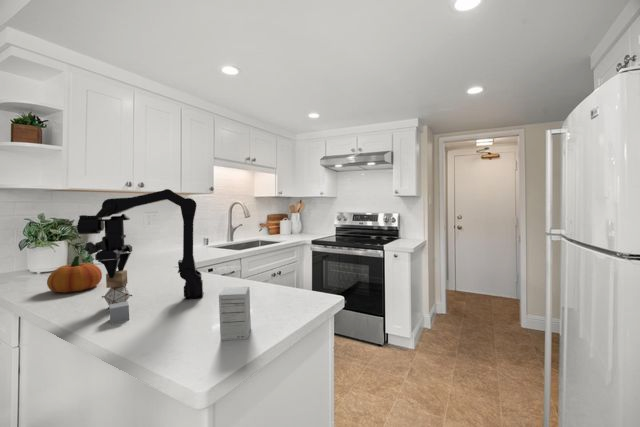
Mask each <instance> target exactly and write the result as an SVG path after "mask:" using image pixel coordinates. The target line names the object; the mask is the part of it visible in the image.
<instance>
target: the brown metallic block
mask: <svg viewBox="0 0 640 427" xmlns="http://www.w3.org/2000/svg"><path fill="white" fill-rule="evenodd" d="M105 282H106V289H110V288H113V287H123V286H125V285H126V286H127V284H128V270H127V269H125V270H124V269H123V270H121V271H118V270H116V272H115V275H114V277H113V278H110V277H109V275H108V273H107V272H106V274H105Z"/></svg>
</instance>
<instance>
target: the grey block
mask: <svg viewBox="0 0 640 427" xmlns="http://www.w3.org/2000/svg"><path fill="white" fill-rule="evenodd" d="M108 307H109V322H110V325H113V324H117V323H122V322H126V321H130V304H129V302H128V300H127V301H126V302H121V303H115V304H110V305H108Z"/></svg>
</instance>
